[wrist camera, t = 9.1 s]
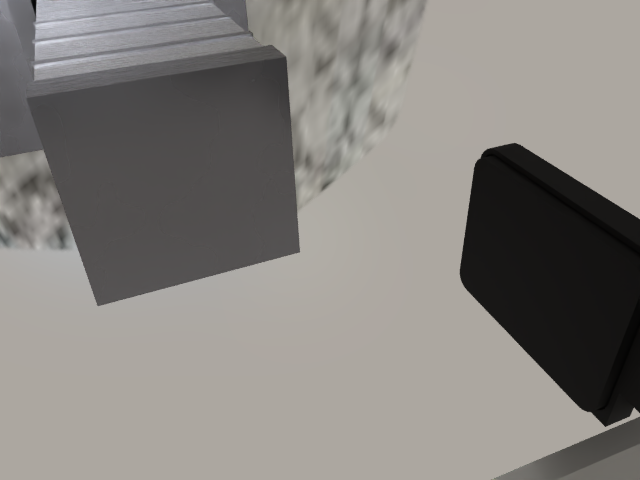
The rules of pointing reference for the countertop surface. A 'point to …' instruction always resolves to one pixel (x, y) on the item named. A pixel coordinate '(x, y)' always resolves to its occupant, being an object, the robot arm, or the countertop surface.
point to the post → (163, 140)
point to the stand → (15, 71)
